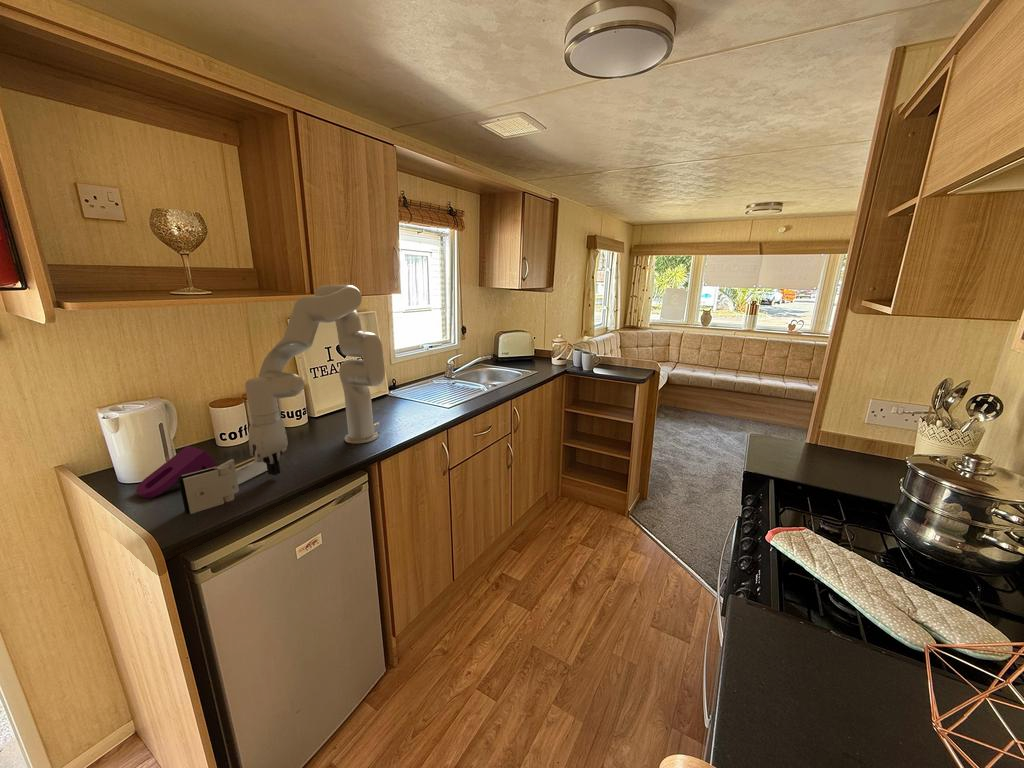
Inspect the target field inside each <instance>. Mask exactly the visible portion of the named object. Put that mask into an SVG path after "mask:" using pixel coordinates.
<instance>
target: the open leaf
mask: <svg viewBox="0 0 1024 768" xmlns="http://www.w3.org/2000/svg"><path fill="white" fill-rule="evenodd" d="M235 470H236V475H237V481H238V486H239V485H241V484H242V483H245V482H246V481H249V480H250V479H253V478H255V477H256V476H259V475H260V474H263V473H264V472H266V471H267V472H268V470H267V464H266V463H264V462H259V463H258V462H255V461H253V462H250V463H248V464H246V465H244V466H242V467H240V468H237V469H235Z"/></svg>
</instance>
